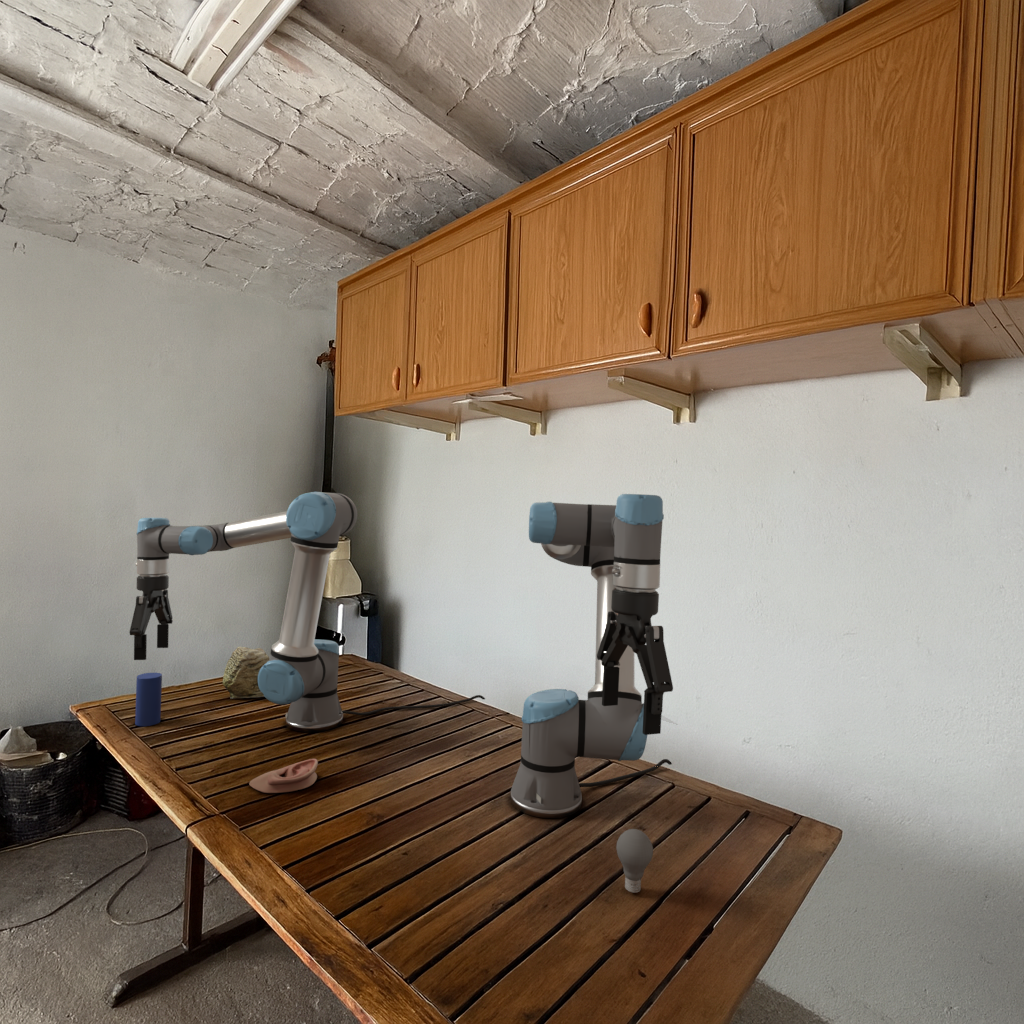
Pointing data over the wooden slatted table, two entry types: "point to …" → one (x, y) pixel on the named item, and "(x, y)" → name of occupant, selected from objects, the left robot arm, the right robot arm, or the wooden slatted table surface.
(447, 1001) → the wooden slatted table surface
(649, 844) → the light bulb
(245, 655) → the fossil
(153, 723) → the cylinder
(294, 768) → the anatomical model
